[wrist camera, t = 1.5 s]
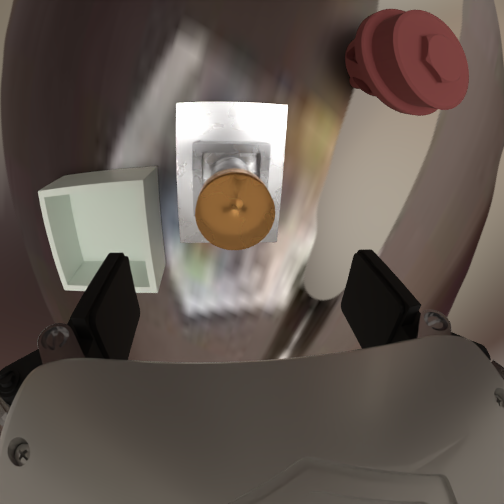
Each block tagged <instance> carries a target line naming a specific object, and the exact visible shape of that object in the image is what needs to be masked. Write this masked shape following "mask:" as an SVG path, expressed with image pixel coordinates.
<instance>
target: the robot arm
mask: <svg viewBox="0 0 504 504" xmlns="http://www.w3.org/2000/svg"><path fill="white" fill-rule="evenodd" d="M420 307H421V304H420V303H419V302H418V301H417V299H416V298H415V297H414V296H413V295H412V293H411V292H410V291H409V290H408V289H407V288H406V287H405V285H404V284H403V283H402V282H401V281H400V280H399V279H398V277H397V276H396V275H395V274H394V273H393V272H392V271H391V270H390V269H389V268H388V266H387V265H386V264H385V263H384V262H383V261H382V260H381V259H380V258H379V257H378V256H377V255H376V254H375V253H374V252H373V251H372V250H359V251H358V252H357V253H355V254H354V257H353V260H352V264H351V269H350V272H349V276H348V280H347V284H346V288H345V291H344V295H343V298H342V302H341V309H342V312H343V314H344V315H345V317H346V319H347V321H348V323H349V325H350V327H351V328H352V330H353V332H354V334H355V336H356V338H357V340H358V342H359V344H360V346H361V347H362V349H357V350H351V351H345V352H338V353H330V354H322V355H314V356H306V357H296V358H285V359H273V360H259V361H240V362H200V363H190V362H152V361H134V360H128V357H129V353H130V349H131V345H132V342H133V338H134V335H135V331H136V328H137V324H138V321H139V317H140V308H139V304H138V300H137V295H136V291H135V287H134V282H133V277H132V273H131V268H130V262H129V258H128V256H124V253H109V254H108V255H107V257H106V258H105V260H104V262H103V263H102V265H101V266H100V268H99V269H98V271H97V273H96V274H95V276H94V277H93V279H92V281H91V282H90V284H89V286H88V287H87V289H86V291H85V292H84V294H83V296H82V297H81V299H80V301H79V303H78V304H77V306H76V308H75V310H74V312H73V313H72V315H71V317H70V320H69V322H68V324H63V323H56V324H53V325H50V326H48V327H47V328H45V329H44V330H43V331H42V332H41V334H40V335H39V337H38V341H37V342H38V350H36V351H34V352H32V353H30V354H28V355H26V356H25V357H23V358H21V359H19V360H17V361H15V362H14V363H12V364H10V365H8V366H6V367H5V368H3V369H2V370H1V371H0V504H504V367H502V366H501V365H500V364H498V363H497V362H496V361H494V360H493V361H492V362H491V361H490V360H491V359H490V355H489V353H488V351H487V349H486V348H485V347H484V346H483V345H481V344H478V343H476V342H474V341H471V340H469V339H467V338H464V337H462V336H460V335H457V334H455V333H452V332H451V324H450V321H449V320H448V318H447V317H446V316H445V315H443V314H442V313H440V312H438V311H436V310H424V311H423V312H422V313H420V312H419V309H420Z"/></svg>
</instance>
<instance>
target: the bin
mask: <svg viewBox="0 0 504 504" xmlns="http://www.w3.org/2000/svg"><path fill="white" fill-rule="evenodd" d="M38 195H39V200H40V205H41V210H42V215H43V219H44V224H45V228H46V232H47V236H48V239H49V243H50V247H51V250H52V254H53V257H54V260H55V263H56V267H57V270H58V273H59V276H60V279H61V281H62V284H63V287H64V290H74V291H86V289H87V287H88V286H89V284H90V282H91V281H92V279H93V277H94V276H95V274H96V273H97V271H98V269H99V268H100V266H101V265H102V263H103V262H104V260H105V258H106V257H107V255H108V254H109V253H124V256H128V258H129V262H130V268H131V273H132V277H133V282H134V287H135V291H136V293H158V290H159V286H160V282H161V279H162V275H163V272H164V268H165V265H166V260H165V252H164V243H163V234H162V224H161V213H160V201H159V186H158V168H157V166H152V167H137V168H125V169H114V170H104V171H95V172H87V173H79V174H72V175H65V176H63V177H61V178H59V179H57V180H56V181H54V182H52V183H51V184H49V185H47V186H46V187H44V188H42V189H41V190H39V191H38Z"/></svg>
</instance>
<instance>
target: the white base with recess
mask: <svg viewBox="0 0 504 504" xmlns="http://www.w3.org/2000/svg"><path fill="white" fill-rule="evenodd" d="M287 112H288V105H281V104H268V103H251V102H185V103H176V168H177V194H178V213H179V228H180V241H181V243H210V242H209V241H207V240H206V239H205V238H204V236H203V235H202V234H201V232H200V231H199V229H198V226H197V224H196V219H195V209H196V204H197V199H198V195H199V192H200V190H201V188H202V186H203V184H204V183H205V182H206V181H207V180H208V179H209V178H210V175H211V170H212V168H213V166H214V165H215V163H216V162H218V161H219V160H220V159H223V158H226V157H235V158H238V159H240V160H242V161H243V162H244V163H245V164H246V166H247V168H248V170H249V171H250V172H252V173H254V174H255V175H256V176H258V177H259V178H260V179H261V180H262V181H263V183H264V184H265V186H266V187H267V189H268V191H269V193H270V194H271V196H272V198H273V201H274V205H275V220H274V223H273V226H272V228H271V230H270V231H269V233H268V234H267V235H266V237H265V238H264V239H263V240H261V241H260V242H277V234H278V223H279V212H280V201H281V190H282V178H283V166H284V153H285V140H286V127H287Z"/></svg>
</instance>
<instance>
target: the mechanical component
mask: <svg viewBox="0 0 504 504" xmlns="http://www.w3.org/2000/svg"><path fill="white" fill-rule="evenodd" d="M345 63H346V68H347V71H348V74H349V76H350V80H349V81H350V84H351V86H352V87H354V88H356V89H361V90H362V91H364V92H365V93H367V94H369V95H372V96H376V97H377V98H379V99H380V100H381V101H382V102H383V103H384V104H385V105H387V106H388V107H390V108H392V109H394V110H395V111H398V112H400V113H405V114H410V115H418V116H421V115H428V114H431V113H433V112H435V111H436V110H437V109H441V110H448V109H452V108H454V107H456V106H457V105H458V104H460V103H461V101H462V100H463V99H464V97H465V95H466V92H467V89H468V83H469V71H468V64H467V60H466V56H465V53H464V51H463V48H462V46H461V44H460V42H459V41H458V39H457V38H456V36H455V35H454V33H453V32H452V31H451V29H450V28H449V27H448V26H447V25H446V24H445V23H444V22H443V21H441V20H440V19H439V18H438V17H436V16H434V15H433V14H430V13H428V12H426V11H422V10H410V11H407V12H405V11H402V10H398V9H386V10H381V11H379V12H376V13H374V14H372V15H370V16H368V17H367V18H366V19H365V20H364V21H363V22H362V23H361V24H360V26H359V28H358V30H357V33H356V37H355V39H354V40H353V41H352V42H351V43H350V44H349V45H348V47H347V50H346V54H345Z"/></svg>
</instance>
